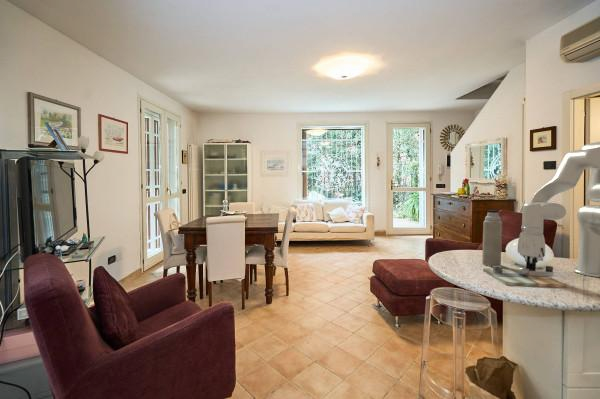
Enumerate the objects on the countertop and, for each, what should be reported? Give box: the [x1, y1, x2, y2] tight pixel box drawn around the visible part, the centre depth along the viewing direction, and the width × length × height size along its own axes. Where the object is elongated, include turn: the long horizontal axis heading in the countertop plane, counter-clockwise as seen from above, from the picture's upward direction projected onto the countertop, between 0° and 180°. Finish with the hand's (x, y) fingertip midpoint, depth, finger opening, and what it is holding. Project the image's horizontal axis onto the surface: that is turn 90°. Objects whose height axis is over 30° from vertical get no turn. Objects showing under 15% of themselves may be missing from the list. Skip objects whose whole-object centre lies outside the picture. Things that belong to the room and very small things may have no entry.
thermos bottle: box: [481, 209, 503, 268], centre depth 151 cm, size 8×8×28 cm
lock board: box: [482, 265, 567, 288], centre depth 130 cm, size 22×20×4 cm
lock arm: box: [518, 265, 555, 278], centre depth 129 cm, size 13×4×4 cm, turn 81°
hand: (530, 271), depth 134 cm, fingers closed
